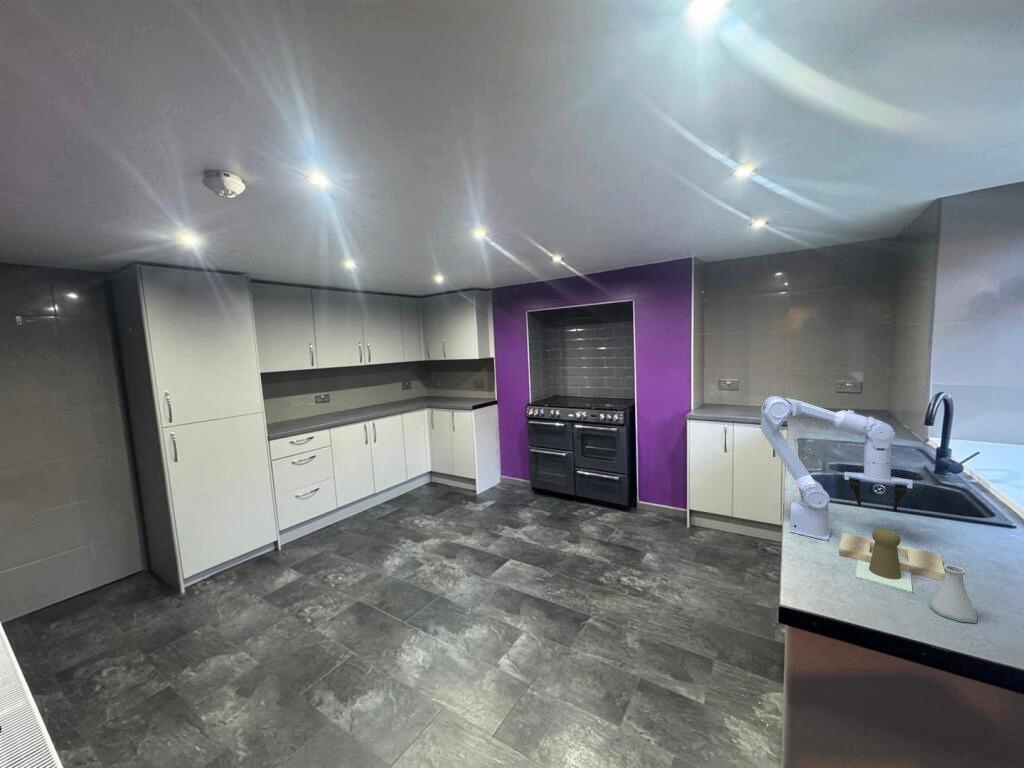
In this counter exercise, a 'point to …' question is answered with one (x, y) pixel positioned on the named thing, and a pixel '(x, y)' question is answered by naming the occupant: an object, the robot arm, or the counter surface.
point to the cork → (885, 554)
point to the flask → (953, 597)
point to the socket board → (917, 559)
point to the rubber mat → (867, 575)
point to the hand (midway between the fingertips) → (876, 507)
